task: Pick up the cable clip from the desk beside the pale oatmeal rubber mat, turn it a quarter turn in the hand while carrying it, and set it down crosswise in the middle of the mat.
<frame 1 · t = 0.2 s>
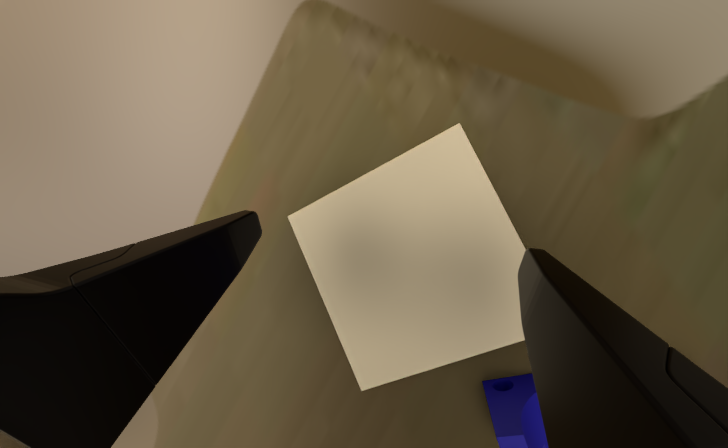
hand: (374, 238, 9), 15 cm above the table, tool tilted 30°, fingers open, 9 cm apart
cable clip: (574, 395, 20), on the table
desk mat: (408, 263, 23), on the table
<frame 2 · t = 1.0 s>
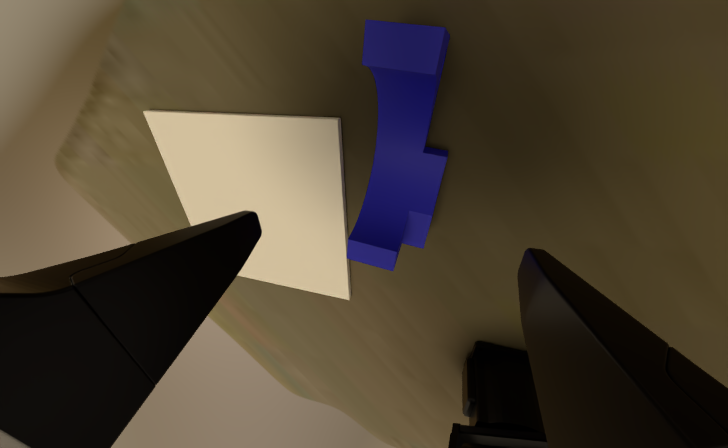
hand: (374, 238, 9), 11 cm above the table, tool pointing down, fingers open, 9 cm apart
cable clip: (414, 143, 18), on the table
desk mat: (260, 211, 25), on the table
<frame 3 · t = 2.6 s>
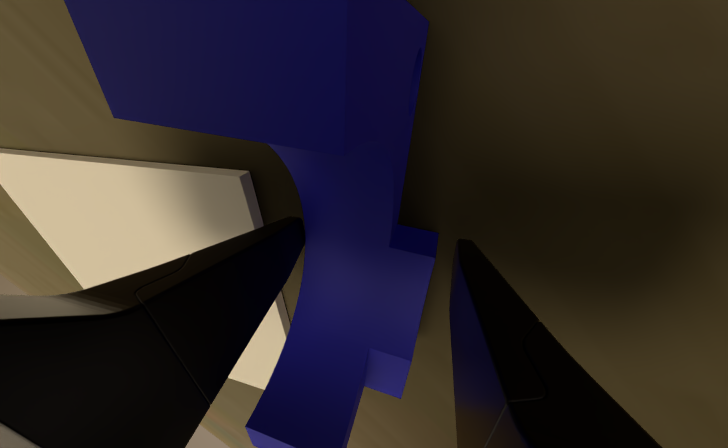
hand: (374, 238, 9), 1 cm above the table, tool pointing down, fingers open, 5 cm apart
cable clip: (379, 216, 10), on the table
desk mat: (170, 287, 17), on the table
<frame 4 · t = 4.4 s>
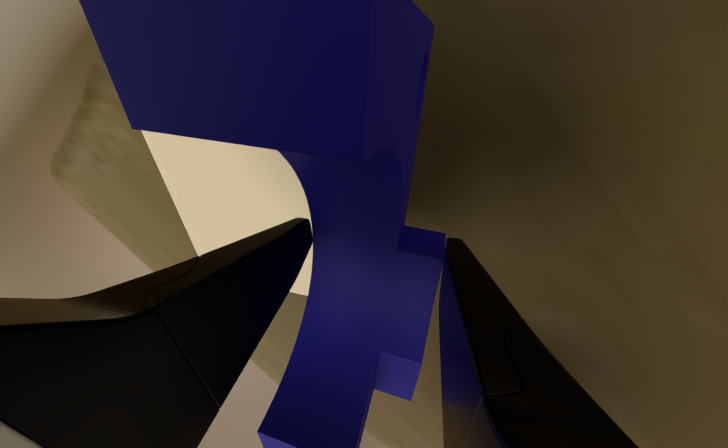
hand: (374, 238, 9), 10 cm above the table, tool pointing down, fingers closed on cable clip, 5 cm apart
cable clip: (385, 219, 10), point 9 cm above the table, touching gripper
desk mat: (255, 216, 25), on the table
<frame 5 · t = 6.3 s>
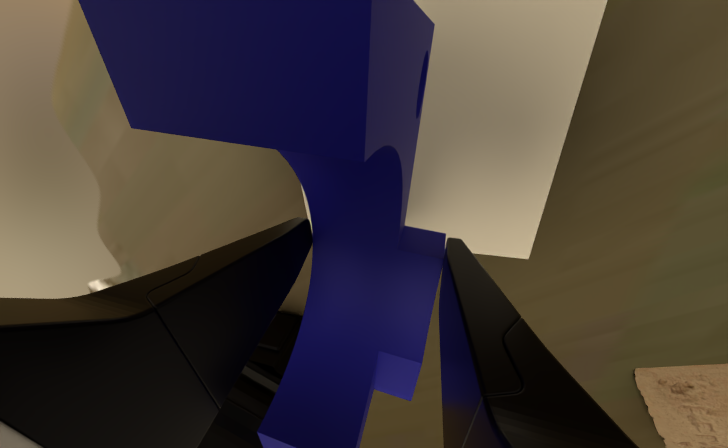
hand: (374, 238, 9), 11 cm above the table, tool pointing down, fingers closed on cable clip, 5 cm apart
cable clip: (385, 219, 10), point 9 cm above the table, touching gripper
brown curved sheet: (723, 402, 22), on the table
desk mat: (410, 134, 18), on the table
when the fingers open (3 cm above the table, at t = 9.0 s): cable clip stays where it is, resting on desk mat.
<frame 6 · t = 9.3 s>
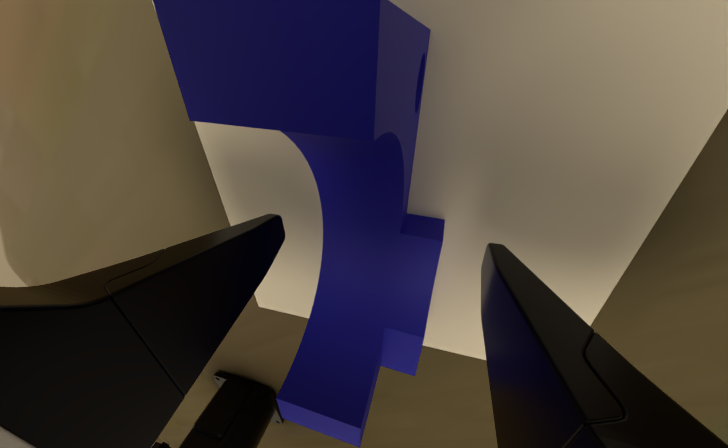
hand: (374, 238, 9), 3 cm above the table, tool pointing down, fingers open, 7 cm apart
cable clip: (389, 207, 11), resting on desk mat
desk mat: (392, 198, 11), on the table
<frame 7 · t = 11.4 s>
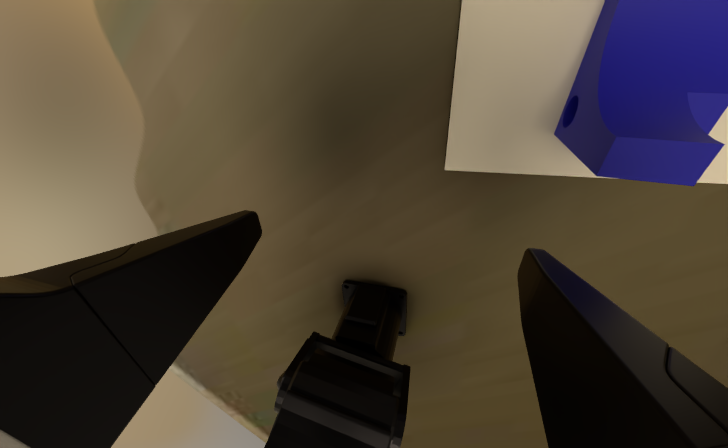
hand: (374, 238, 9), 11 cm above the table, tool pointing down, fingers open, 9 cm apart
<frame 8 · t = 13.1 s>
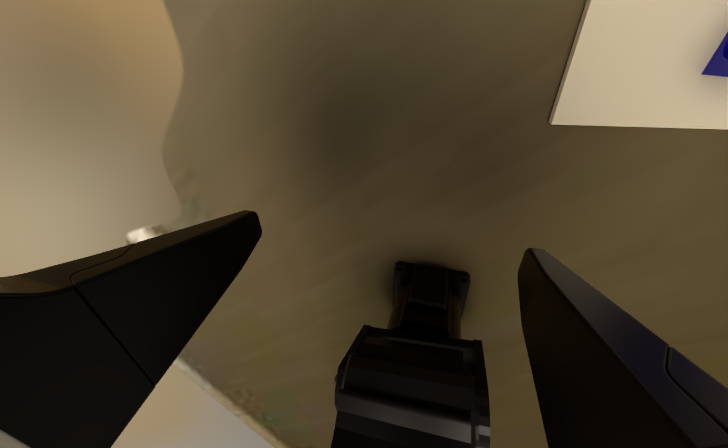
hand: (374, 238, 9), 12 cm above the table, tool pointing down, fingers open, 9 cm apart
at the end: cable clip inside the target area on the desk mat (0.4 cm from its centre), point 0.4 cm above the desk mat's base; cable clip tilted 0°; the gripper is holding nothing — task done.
